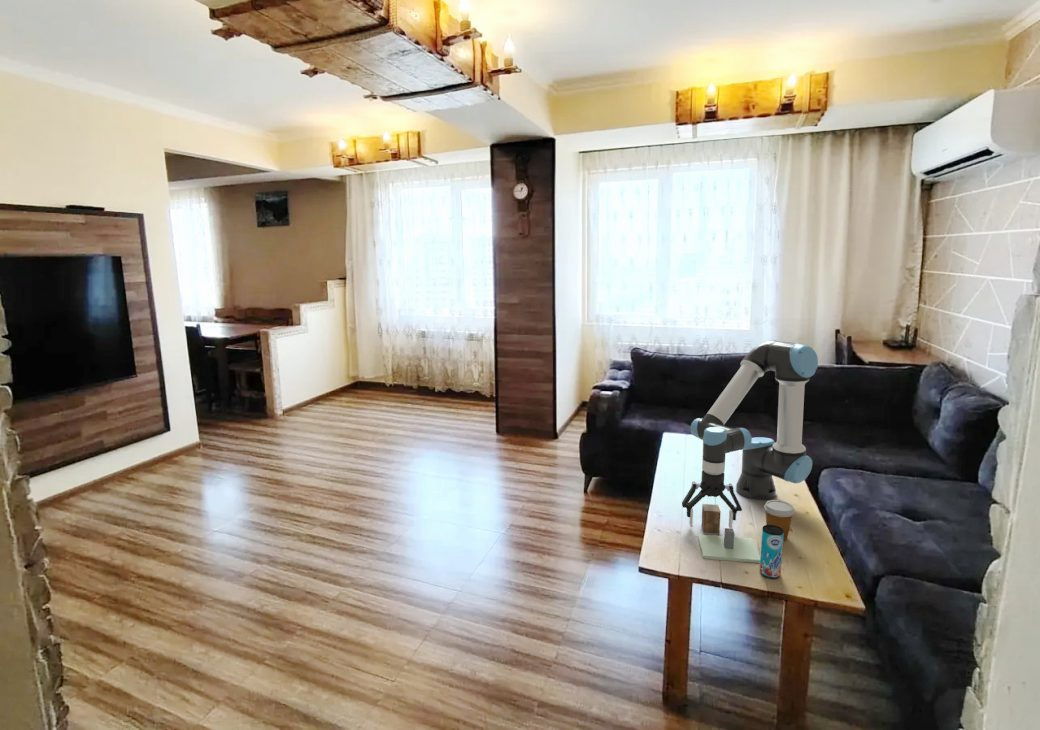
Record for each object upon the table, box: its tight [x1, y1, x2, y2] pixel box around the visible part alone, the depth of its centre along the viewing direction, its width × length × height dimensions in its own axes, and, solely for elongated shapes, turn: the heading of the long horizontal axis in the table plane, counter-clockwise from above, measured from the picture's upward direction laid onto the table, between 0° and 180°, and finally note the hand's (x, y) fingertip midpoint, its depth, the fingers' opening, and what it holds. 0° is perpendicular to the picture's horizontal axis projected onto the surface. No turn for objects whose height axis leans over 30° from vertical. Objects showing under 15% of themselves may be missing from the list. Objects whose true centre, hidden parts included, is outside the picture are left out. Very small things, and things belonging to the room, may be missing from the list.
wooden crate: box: [701, 503, 722, 535], centre depth 193 cm, size 5×5×9 cm
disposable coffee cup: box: [763, 499, 796, 543], centre depth 187 cm, size 10×10×12 cm
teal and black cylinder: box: [759, 524, 784, 580], centre depth 165 cm, size 6×6×15 cm
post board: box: [697, 527, 761, 564], centre depth 180 cm, size 18×14×7 cm
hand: (710, 526), depth 194 cm, fingers open, 13 cm apart
